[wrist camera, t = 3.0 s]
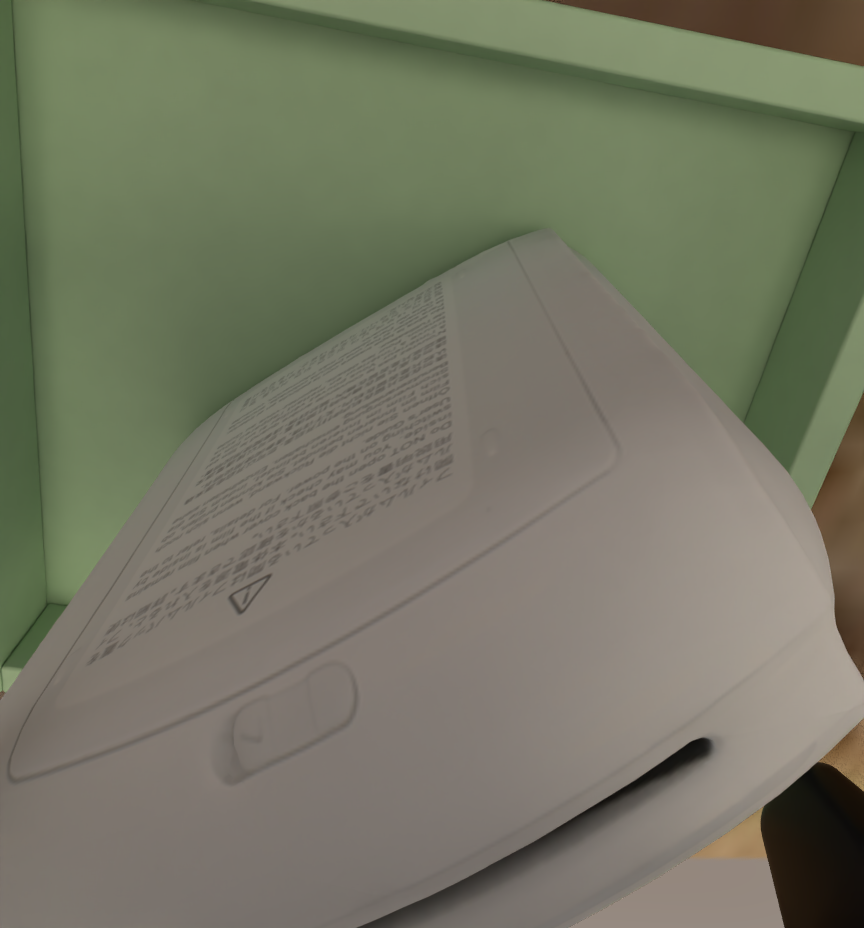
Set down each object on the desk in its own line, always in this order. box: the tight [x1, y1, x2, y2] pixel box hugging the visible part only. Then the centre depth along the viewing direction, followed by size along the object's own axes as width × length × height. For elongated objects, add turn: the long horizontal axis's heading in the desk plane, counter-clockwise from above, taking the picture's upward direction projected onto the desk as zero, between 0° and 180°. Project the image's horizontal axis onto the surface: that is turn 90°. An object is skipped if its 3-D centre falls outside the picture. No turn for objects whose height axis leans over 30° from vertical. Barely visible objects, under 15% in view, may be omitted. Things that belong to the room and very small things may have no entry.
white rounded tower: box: [0, 228, 864, 928], centre depth 11 cm, size 10×4×12 cm, turn 121°
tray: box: [0, 0, 864, 693], centre depth 16 cm, size 18×16×3 cm
